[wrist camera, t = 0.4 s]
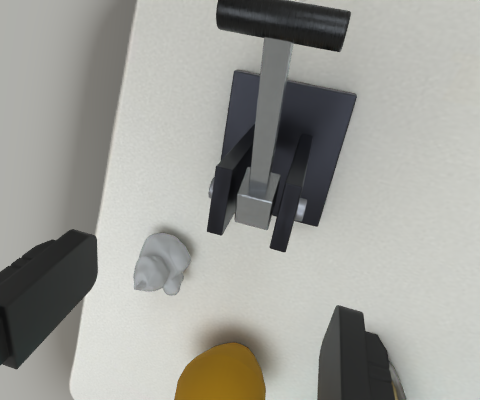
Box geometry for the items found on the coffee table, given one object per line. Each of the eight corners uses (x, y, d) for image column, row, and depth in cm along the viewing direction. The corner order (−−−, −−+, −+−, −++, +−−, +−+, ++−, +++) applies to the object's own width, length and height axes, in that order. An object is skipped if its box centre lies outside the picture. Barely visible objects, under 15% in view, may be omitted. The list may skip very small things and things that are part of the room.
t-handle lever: (230, -21, 15) (211, 3, 13) (353, 0, 14) (348, 27, 13) (224, 190, 25) (213, 216, 23) (296, 208, 24) (289, 236, 23)
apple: (223, 306, 41) (186, 397, 31) (291, 354, 42) (277, 458, 32) (183, 350, 46) (139, 443, 35) (245, 393, 46) (220, 496, 36)
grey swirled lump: (182, 219, 38) (147, 262, 31) (206, 271, 40) (179, 322, 33) (140, 231, 40) (98, 273, 33) (165, 280, 42) (131, 330, 35)
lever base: (237, 69, 31) (180, 88, 19) (356, 93, 29) (371, 130, 18) (218, 195, 36) (164, 269, 24) (318, 221, 34) (310, 312, 23)
